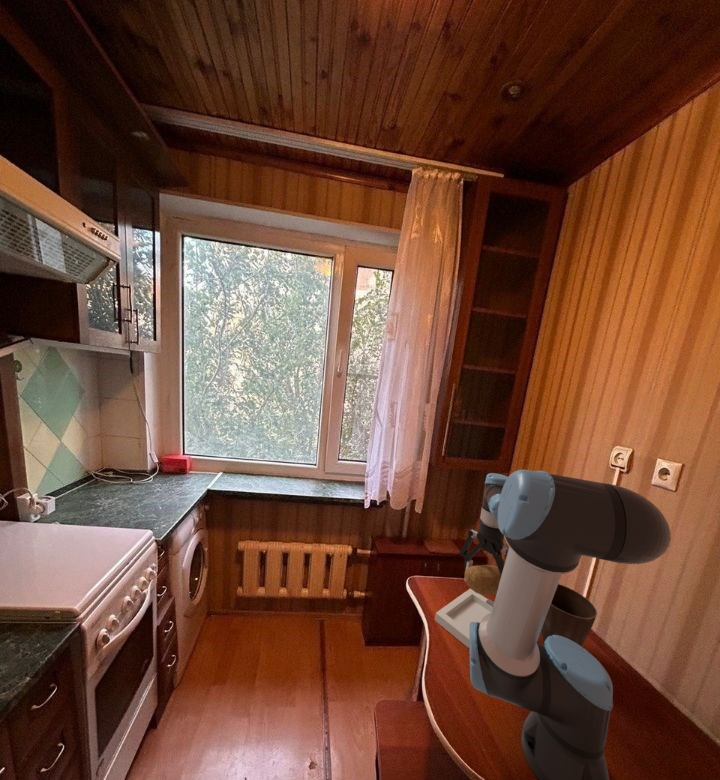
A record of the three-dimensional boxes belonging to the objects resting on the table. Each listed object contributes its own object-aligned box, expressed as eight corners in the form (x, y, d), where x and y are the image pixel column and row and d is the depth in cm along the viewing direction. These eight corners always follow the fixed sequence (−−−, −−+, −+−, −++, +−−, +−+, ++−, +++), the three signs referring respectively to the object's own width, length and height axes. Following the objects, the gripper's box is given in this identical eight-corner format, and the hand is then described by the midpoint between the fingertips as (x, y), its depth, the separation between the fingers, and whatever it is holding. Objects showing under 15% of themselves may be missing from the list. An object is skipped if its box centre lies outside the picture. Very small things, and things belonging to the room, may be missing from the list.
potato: (512, 599, 95) (515, 574, 95) (476, 606, 90) (480, 580, 90) (489, 578, 104) (492, 556, 104) (455, 583, 99) (459, 560, 99)
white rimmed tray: (489, 664, 84) (490, 653, 84) (434, 620, 97) (436, 611, 97) (520, 628, 98) (522, 619, 98) (469, 594, 112) (470, 586, 112)
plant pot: (570, 634, 98) (578, 587, 98) (600, 679, 84) (609, 623, 83) (522, 624, 100) (529, 577, 100) (543, 665, 85) (551, 611, 85)
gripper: (535, 537, 90) (525, 608, 91) (466, 506, 107) (457, 566, 108) (525, 543, 85) (514, 619, 86) (454, 510, 103) (445, 573, 103)
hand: (482, 589), depth 97 cm, fingers closed on potato, 10 cm apart
